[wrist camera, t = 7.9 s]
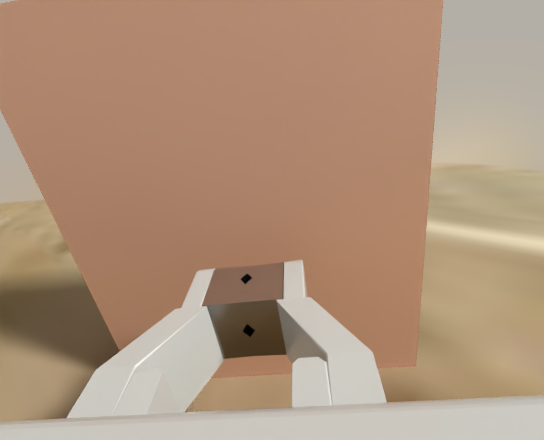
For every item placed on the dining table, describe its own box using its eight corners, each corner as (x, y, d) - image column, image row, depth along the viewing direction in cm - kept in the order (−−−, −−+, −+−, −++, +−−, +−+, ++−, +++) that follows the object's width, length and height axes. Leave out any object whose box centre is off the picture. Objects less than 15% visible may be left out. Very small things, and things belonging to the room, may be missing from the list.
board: (416, 366, 13) (449, -86, 7) (134, 382, 14) (-48, 13, 8) (394, 313, 16) (404, -46, 10) (159, 331, 17) (35, 24, 11)
